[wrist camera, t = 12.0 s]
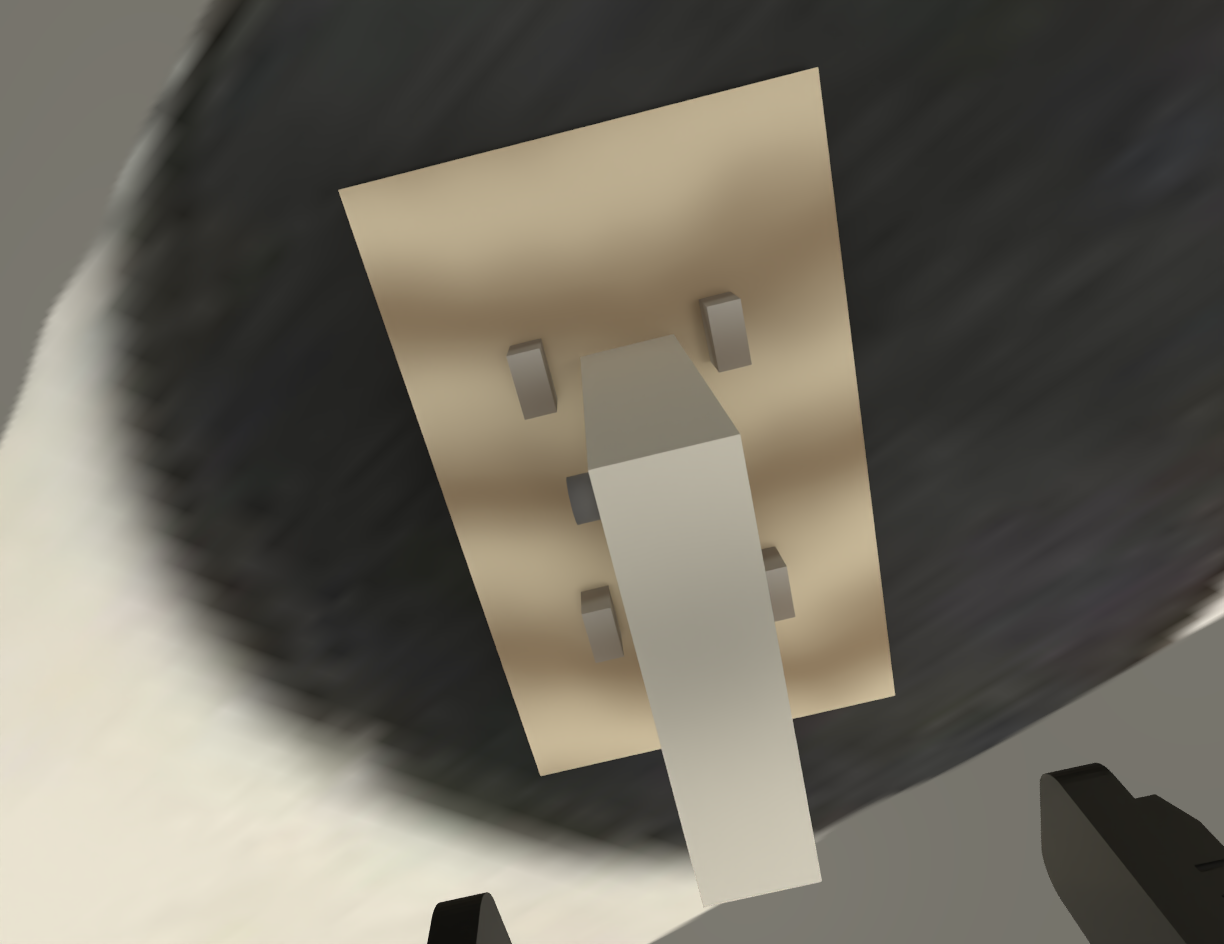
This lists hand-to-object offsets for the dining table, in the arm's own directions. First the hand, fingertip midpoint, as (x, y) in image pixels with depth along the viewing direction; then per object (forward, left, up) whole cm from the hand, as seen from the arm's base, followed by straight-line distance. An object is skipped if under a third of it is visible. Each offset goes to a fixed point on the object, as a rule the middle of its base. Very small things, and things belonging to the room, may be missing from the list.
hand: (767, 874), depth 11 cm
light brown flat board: (0, 0, -17) cm, 17 cm away
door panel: (+1, 0, -16) cm, 16 cm away
